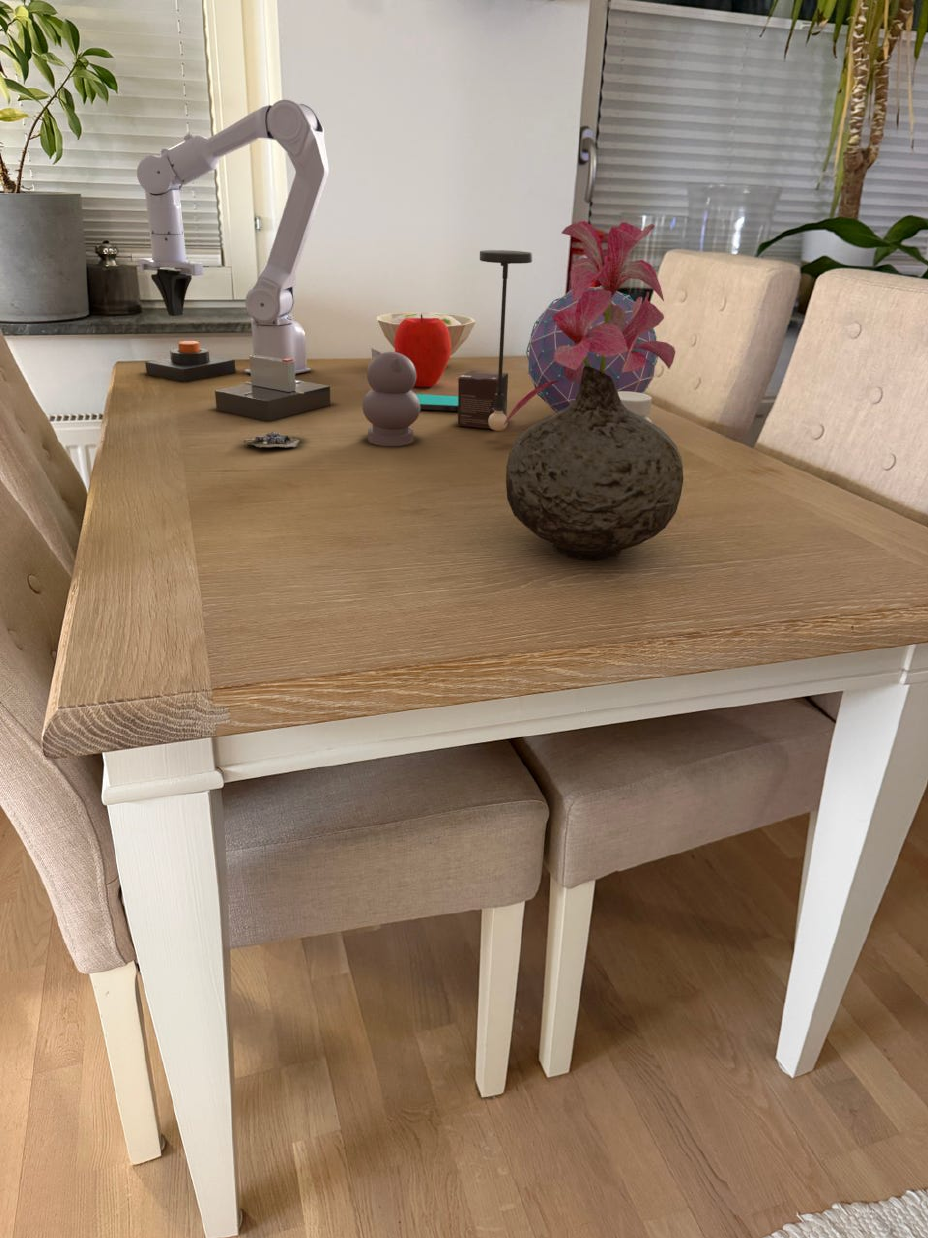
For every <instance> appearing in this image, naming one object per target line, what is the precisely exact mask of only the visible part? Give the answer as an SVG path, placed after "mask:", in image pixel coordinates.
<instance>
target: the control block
mask: <svg viewBox="0 0 928 1238" xmlns="http://www.w3.org/2000/svg"><path fill="white" fill-rule="evenodd" d="M199 348H200V352H193V353H183V352H179V347H177V348H173V349H171V350H170V351H169V353H170V354H169V355H170V357H166V358H162V359H161V358H159V359H153V360H149V361H144V364H145V372H146V373H145V374H146V375H148V376H153V377H158V378H162V379H167V380H173V381H179V382H183V383H187V382H192V381H197V380H201V379H202V380H203V379H207V378H211V377H218V376H221V375H226V374H227V375H228V374H232V373H236V371H237V370H236V360H235V359H232V358H226V357H222V356H216V355H210V351H209V349H207V348H203V347H199Z"/></svg>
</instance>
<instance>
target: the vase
mask: <svg viewBox="0 0 928 1238" xmlns="http://www.w3.org/2000/svg"><path fill="white" fill-rule="evenodd" d="M654 228H655V224H654V223H650V224H648V226H646V227H645V228H644V229H643V230H642V229H640V228H639V227H637V226H635V225H633V224H630V223H628V222H626V221H621V222H620V224H619V225H618V227H617V226H614V225H612V226H611V228H610V229H609V231H608V237H607V238H608V239H607V245H606V246H607V248H606V249H607V251H606V252H607V253H606V255H605V256H604V251H603V247H602V240H601V238H600V236H599V234H598V233H597V231H596V229H595V227H594V226H592V225H591V224H590V223H589V222H588V221H585V220H581V221H580V220H579V221H578V222H576V221H575V222H573V223H571V224H570V225H568V226H566V227H565V228H564V229H563V230H562V231H561V235H567V236H570V237H573V238H576V239H578V240H580V242H581V243H582V245H581V246H582V249H583V253H584V255H585V257H581V258H579V259H578V260H576V261H575V262H574V263H573V266H572V268H571V271H570V286H571V290H572V294H573V300H574V301H576V300H577V299H578V298H579V297H580V296H581V295H582V296H581V297H580V299H579V301H578V303H577V304H576V305H574V306H572V307H569V308H566V309H563V310H561V311H559V312H557V313H555V314H553V316H552V318H553V320H554V322H555V323H556V325H557V326H558V327H559V328H560V329H561V330H562V332H563V333H564V334H565V335H567V336H568V337H569V338H570V339H571V340H572V341H573V342H574V346H568V345H566V346H560V347H559V348H558V349H557V350H556V351H555V354H554V359H555V362H557V363H559V364H561V365H563V366H565V367H564V375H565V376H566V378H567V379H568V380H570V381H573V382H578V383H580V387H579V392H578V395H577V397H576V399H575V401H574V402H573V403H572V404H570V405H569V406H568V407H567V408H565V409H563V410H561V411H559V412H557V413H555V412H554V413H553V414H551V415H549V416H547V417H545V418H543V419H541V420H539V421H537V422H535V423H533V424H532V425H530V426H528V428H526V429H525V430H523V432H521V434H519V436H518V438H517V439H516V441H515V442H514V443H513V445H512V447H511V449H510V451H509V455H508V458H507V463H506V466H505V468H506V469H505V489H506V499H507V503H508V504H509V506H510V509H511V511H512V513H513V516H514V517H515V518H516V519H517V520H518V521H519V522H520V523H521V524H522V525H524V526H525V527H526V528H527V529H529V531H531V532H532V533H533V534H535V535H536V536H537V537H539V538H540V539H542V540H543V541H546V542H548V543H550V544H551V545H552V548H553V549H554V550H555V551H556V552H557V553H559V554H561V555H564V556H566V557H569V558H574V559H577V560H580V561H581V560H583V561H606V560H609V559H612V558H614V557H617V556H618V555H620V554H621V553H622V551H624V550H627V549H630V548H633V547H636V546H638V545H640V544H642V543H644V542H647V541H649V540H650V539H652V538H654V537H656V536H657V535H658V534H659V533H661V532H662V531H664V530H665V529H666V527H667V526H668V525H669V524H670V522H671V521H672V519H673V518H674V516H675V515H676V513H677V510H678V507H679V503H680V499H681V496H682V492H683V491H682V490H683V484H684V469H683V468H684V465H683V459H682V456H681V453H680V450H679V449H678V447H677V444H676V443H675V442H674V440H673V439H672V438H671V437H670V436H669V434H667V432H665V431H664V430H662V428H660V427H659V426H657V425H655V424H654V423H653V422H652V421H651V422H652V423H651V422H649V421H648V420H646V419H644V418H642V417H640V416H639V415H637V414H635V413H633V412H631V411H630V410H628V409H627V408H626V407H625V406H624V405H623V404H622V402H621V400H620V397H619V395H618V392H617V389H616V386H615V384H614V382H613V380H612V378H611V377H610V376H608V375H607V374H605V373H604V371H605V361H606V357H612V356H615V355H618V354H621V353H623V354H627V355H626V358H625V362H624V364H623V367H622V371H621V372H629V371H636V370H639V369H641V368H642V367H643V366H644V365H645V363H646V356H645V355H643V354H642V353H641V352H637V351H633V350H634V349H643V350H647V351H651V352H652V353H654V354H655V355H657V356H658V359H660V360H661V361H662V362H663V363H664V364H665V366H666V367H667V369H668V370H670V369H671V368H672V365H673V363H674V360H675V356H676V349H675V347H674V346H673V345H671V344H670V343H668V342H667V341H660V340H657V341H655V340H654V341H648V342H642V343H637V344H636V342H637V339H638V336H640V335H642V334H644V333H646V332H648V331H650V330H651V329H655V327H657V326H659V325H660V324H661V323H662V322H663V320H664V319H665V315H664V314H663V312H662V311H661V310H660V309H659V308H658V307H657V306H656V305H655V304H653V303H651V302H650V301H649V297H650V292H649V291H647V292H646V296H645V298H644V299H643V296H638V297H637V298H636V300H634V301H635V303H634V305H633V306H632V307H631V309H632V311H633V314H632V317H631V319H630V321H629V322H628V324H627V325H626V326H625V327H624V328H623V326H624V324H625V322H626V321H627V318H626V313H625V311H624V310H623V309H622V308H621V307H619V306H617V305H611V299H612V297H613V295H614V294H615V292H616V291H617V292H618V290H619V288H620V287H621V286H622V285H623V284H625V283H626V282H627V281H628V280H629V279H635V280H640V282H641V281H642V282H643V283H645V284H646V285H648V286H649V287H650V288H651V289H652V290H653V291H654V293H656V294H657V296H658V297H659V298H660V299H661V300H662V301H663V302H665V298H664V294H663V289H662V287H661V284H660V281H659V278H658V275H657V273H656V270H655V269H654V267H653V266H652V264H650V263H649V262H647V261H645V260H643V259H640V260H633V261H630V262H629V263H627V262H628V259H629V257H630V255H631V253H632V252H633V251H634V249H635V247H636V246H637V245H638V244H639V242H640V241H641V240H642V239H644V238H645V237H646V236H648V235H649V234H650V233H651V231H652V230H653V229H654ZM626 263H627V266H625V265H626ZM597 266H598V268H599V269H598V268H597ZM624 267H625V269H624ZM597 280H598V281H599V283H600V286H602V288H603V290H587V289H588V288H589V287H592V285H593V284H594V283H595V282H596V281H597ZM586 290H587V291H586ZM585 291H586V292H585ZM640 306H641V307H640ZM639 308H640V309H639ZM601 315H603V316H605V321H604V323H602V324H599V325H596V326H594V327H593V328H592V329H591V330H590V331H589V332H588V333H587V331H588V330H589V328H590V326H591V325H592V324H593V323H594V322H595V321H596V320H597V319H598V317H600V316H601ZM609 320H610V322H611V323H609ZM622 328H623V329H622ZM621 329H622V330H621ZM586 333H587V335H586ZM585 335H586V336H585ZM579 342H580V343H579ZM589 351H590V352H593V353H595V354H597V355H600V356H601V364H600V371H599V370H597V369H595V368H592V367H590V365H589V362H588V360H587V358H586V356H587V354H588V352H589ZM582 361H583V362H584V364H585V367H584V368H583V365H582ZM556 382H558V381H553V382H549V383H545V384H543V385H541V386H539V387H537V388H535V387H534V389H533V390H531V391H530V392H529V393H527V394H526V395H524V397H522V398H521V399H520V400H519V401H518V402H517V404H516V405H515V406H514V407H513V409H512V410H511V412H510V413H509V415H507V420H506V421H505V423H504V425H505V424H506V423H507V421H508V422H509V421H510V420H511V419H512V418H513V417H514V416H515V414H516V413H518V411H520V410H521V409H522V407H524V406H525V405H526V404H527V403H528V402H529V401H530V400H531V399H532V398H534V397H535V396H536V395H538V394H539V393H538V392H540V391H541V390H543V389H545V388H546V387H548V386H550V385H552V384H554V383H556ZM537 393H538V394H537ZM504 425H503V426H504Z"/></svg>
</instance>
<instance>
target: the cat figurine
mask: <svg viewBox="0 0 928 1238" xmlns="http://www.w3.org/2000/svg"><path fill="white" fill-rule="evenodd" d="M370 350H371V358H372V359H371V361H370V362H369V363H368V366H367V370H366V377H367V382H368V385H369V386H370V388H371V389H370V390H369V391H368V392H367V393H366V394H365V395H364V397H363V399H362V412H363V415H364V417H365V418H366V420H367V421H368V422H369V423H370V424H372V427H369V428H368V429H367V441H368V442H369V443H370V444H373V445H377V446H382V447H402V446H407V445H410V444H412V443H413V442H414V429H413V428H411V427H410V426H412V425H413V424H414V423H415V422H416V421H417V420H418V419H419V416H420V414H421V410H422V409H421V408H420V403H419V400H418V398H417V396H416V395H415V394H416V393H415V392H414V391H413V390H412V389H413V388H414V387H415V386H414V384H415V382H416V370H415V367H414V365H413V363H412V362H411V361H410V359H409V358H407V357H406V356H404V355H402V354H400V353H397V352H395V351H385V352H380V351H378V350H377V349H374V348H372V347H371V349H370Z"/></svg>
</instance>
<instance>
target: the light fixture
mask: <svg viewBox="0 0 928 1238" xmlns="http://www.w3.org/2000/svg"><path fill="white" fill-rule="evenodd" d="M479 261H480V262H486V263H492V264H493V263H494V264H500V266H501V267H502V286H501V287H502V288H501V309H500V311H501V312H500V330H499V333H500V335H499V352H498V388H497V393H496V394H495V400H494V408H492V410H494V413H493V414H491V415H490V417H489V419H488V423H489V426H490V428H491V429H490V430H493V431H495V432H501V431H504V430H505V429H507V426H508V424H509V420H508V421H507V423H506V424H505V425H504V423H505V421H506V420H507V418H508V416H507V414H506V415H505V414H503V411H504V410H505V409H504V407H503V403H504V394H502V373H503V369H504V368H503V367H504V347H505V346H504V345H505V325H506V307H507V306H506V305H507V303H506V302H507V286H508V285H507V284H508V283H507V282H508V276H509V274H508V273H509V265H511V264H516V265H517V264H518V265H519V264H531V263H532V262H533V252H529V251H521V250H504V249H503V250H501V249H488V250H487V249H486V250H484V249H483V250H480V251H479ZM503 425H504V426H503Z"/></svg>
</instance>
